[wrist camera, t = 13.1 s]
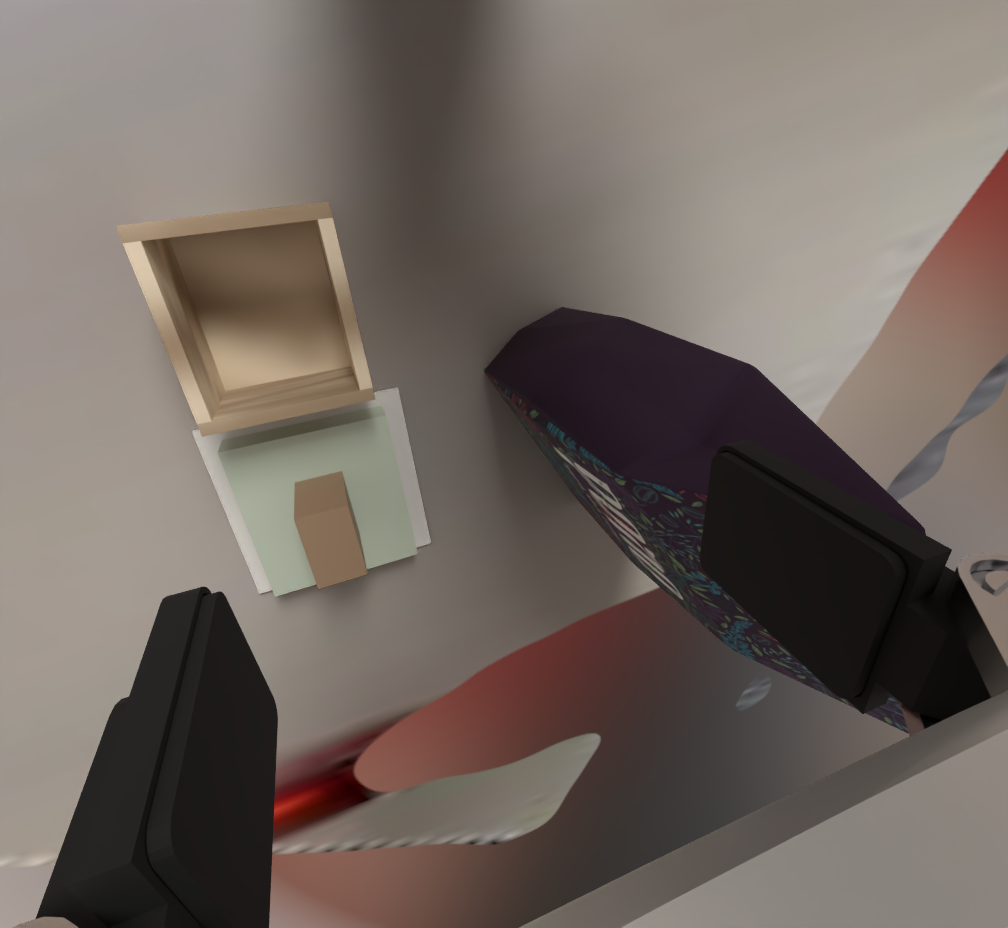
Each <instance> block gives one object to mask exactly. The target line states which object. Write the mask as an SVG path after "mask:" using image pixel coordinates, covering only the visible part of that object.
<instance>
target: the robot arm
mask: <svg viewBox="0 0 1008 928" xmlns="http://www.w3.org/2000/svg"><path fill="white" fill-rule="evenodd" d="M951 551H952V550H951V549H950V548H948V547H946V546H944V545H942V544H941V543H939V542H937V541H935V540H933V539H932V538H930V537H928V536H926V535H924V534H922V533H921V532H919V531H917V530H915V529H913V528H911V527H910V526H908V525H906V524H904V523H902V522H901V521H899V520H897V519H895V518H893V517H891V516H890V515H888V514H886V513H884V512H882V511H880V510H879V509H877V508H875V507H873V506H871V505H870V504H868V503H866V502H864V501H862V500H860V499H859V498H857V497H855V496H853V495H851V494H849V493H848V492H846V491H844V490H842V489H840V488H839V487H837V486H835V485H833V484H831V483H829V482H828V481H826V480H824V479H822V478H820V477H818V476H817V475H815V474H813V473H811V472H809V471H808V470H806V469H804V468H802V467H800V466H798V465H797V464H795V463H793V462H791V461H789V460H787V459H786V458H784V457H782V456H780V455H778V454H777V453H775V452H773V451H771V450H769V449H767V448H766V447H764V446H762V445H760V444H758V443H756V442H755V441H752V440H749V439H748V440H742V441H738V442H734V443H731V444H727V445H723V446H722V447H720V448H719V449H718V451H717V453H716V455H715V456H714V457H713V459H712V462H711V469H710V477H709V485H708V493H707V501H706V509H705V517H704V525H703V533H702V541H701V549H700V563H701V566H702V568H703V570H704V572H705V573H706V574H707V575H708V576H709V577H710V578H711V579H712V580H713V581H714V582H715V583H717V584H718V585H719V586H720V587H721V588H722V589H723V590H724V591H725V592H726V593H727V594H728V595H729V596H730V597H731V598H732V599H734V600H735V601H736V602H737V603H738V604H739V605H740V606H741V607H742V608H743V609H744V610H745V611H746V612H747V613H748V614H750V615H751V616H752V617H753V618H754V619H755V620H756V621H757V622H758V623H759V624H760V625H761V626H762V627H763V628H764V629H765V630H767V631H768V632H769V633H770V634H771V635H772V636H773V637H774V638H775V639H776V640H777V641H778V642H779V643H780V644H781V645H782V646H784V647H785V648H786V649H787V650H788V651H789V652H790V653H791V654H792V655H793V656H794V657H795V658H796V659H797V660H798V661H800V662H801V663H802V664H803V665H804V666H805V667H806V668H807V669H808V670H809V671H810V672H811V673H812V674H813V675H814V676H815V677H817V678H818V679H819V680H820V681H821V682H822V683H823V684H824V685H825V686H826V687H827V688H828V689H829V690H830V691H831V692H833V693H834V694H835V695H836V696H838V697H840V698H842V699H847V700H848V701H849V702H850V703H851V704H852V705H853V706H854V707H856V708H857V709H858V710H859V711H860V712H861V713H862V714H864V713H866V712H868V711H871V710H873V709H875V708H877V707H879V706H881V705H884V704H886V703H887V700H888V698H889V696H890V694H891V695H892V696H894V697H895V698H896V699H897V700H898V701H900V705H901V709H902V712H903V715H904V719H905V722H906V725H907V729H908V732H909V735H910V736H909V737H907V738H905V739H903V740H901V741H899V742H897V743H895V744H893V745H891V746H889V747H887V748H885V749H882V750H881V751H878V752H876V753H874V754H872V755H870V756H868V757H866V758H864V759H862V760H860V761H858V762H855V763H853V764H851V765H849V766H848V767H845V768H843V769H841V770H839V771H837V772H835V773H833V774H831V775H829V776H826V777H824V778H822V779H820V780H819V781H816V782H814V783H812V784H810V785H808V786H806V787H804V788H802V789H800V790H798V791H796V792H794V793H792V794H790V795H788V796H786V797H783V798H781V799H779V800H777V801H775V802H773V803H771V804H769V805H767V806H765V807H763V808H761V809H759V810H757V811H755V812H753V813H751V814H749V815H747V816H745V817H743V818H740V819H739V820H737V821H734V822H732V823H730V824H729V825H726V826H724V827H722V828H720V829H718V830H716V831H714V832H712V833H710V834H708V835H706V836H704V837H702V838H700V839H698V840H696V841H694V842H692V843H689V844H687V845H686V846H683V847H681V848H679V849H677V850H675V851H673V852H671V853H669V854H667V855H665V856H663V857H661V858H659V859H657V860H655V861H653V862H651V863H649V864H647V865H645V866H643V867H641V868H639V869H637V870H635V871H633V872H630V873H628V874H626V875H624V876H622V877H620V878H618V879H617V880H614V881H612V882H610V883H609V884H606V885H604V886H602V887H600V888H598V889H596V890H594V891H592V892H590V893H588V894H586V895H584V896H582V897H580V898H578V899H576V900H574V901H572V902H570V903H568V904H566V905H564V906H562V907H560V908H558V909H556V910H554V911H552V912H550V913H548V914H546V915H544V916H542V917H540V918H538V919H536V920H534V921H532V922H530V923H528V924H526V925H524V926H522V927H520V928H1008V556H1005V555H1000V554H985V553H981V554H974V555H969V556H967V557H965V558H963V559H961V560H960V562H959V564H958V566H957V568H956V571H955V572H954V571H952V570H950V569H949V568H947V567H946V566H945V564H946V562H947V560H948V558H949V555H950V553H951ZM277 726H278V716H277V708H276V704H275V700H274V698H273V695H272V693H271V691H270V689H269V687H268V685H267V683H266V681H265V678H264V676H263V674H262V672H261V670H260V668H259V666H258V664H257V662H256V660H255V657H254V655H253V653H252V651H251V649H250V647H249V645H248V643H247V641H246V639H245V636H244V634H243V632H242V630H241V628H240V626H239V624H238V622H237V620H236V617H235V615H234V613H233V611H232V609H231V607H230V605H229V603H228V601H227V599H226V597H225V595H224V594H223V593H222V592H216V593H211V592H210V590H209V589H208V588H207V587H200V588H196V589H193V590H189V591H185V592H182V593H178V594H174V595H171V596H167V597H165V598H164V599H163V600H162V602H161V604H160V607H159V610H158V613H157V616H156V619H155V622H154V625H153V628H152V631H151V634H150V637H149V640H148V642H147V645H146V648H145V651H144V654H143V657H142V660H141V663H140V666H139V669H138V672H137V675H136V678H135V681H134V684H133V687H132V690H131V693H130V696H129V697H127V698H123V699H121V700H120V701H119V702H118V703H117V704H116V705H115V706H114V708H113V710H112V712H111V714H110V716H109V719H108V721H107V724H106V727H105V730H104V732H103V735H102V738H101V741H100V743H99V746H98V749H97V752H96V754H95V757H94V760H93V763H92V765H91V768H90V771H89V774H88V776H87V779H86V782H85V785H84V787H83V790H82V793H81V796H80V798H79V801H78V804H77V807H76V809H75V812H74V815H73V818H72V820H71V823H70V826H69V829H68V831H67V834H66V837H65V840H64V842H63V845H62V848H61V851H60V853H59V856H58V859H57V862H56V864H55V867H54V870H53V873H52V876H51V878H50V881H49V884H48V886H47V889H46V892H45V894H44V898H43V900H42V903H41V905H40V908H39V911H38V914H37V917H36V919H35V920H31V921H28V922H25V923H22V924H19V925H17V926H15V927H14V928H269V912H270V890H271V865H272V843H273V819H274V796H275V772H276V749H277Z"/></svg>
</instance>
